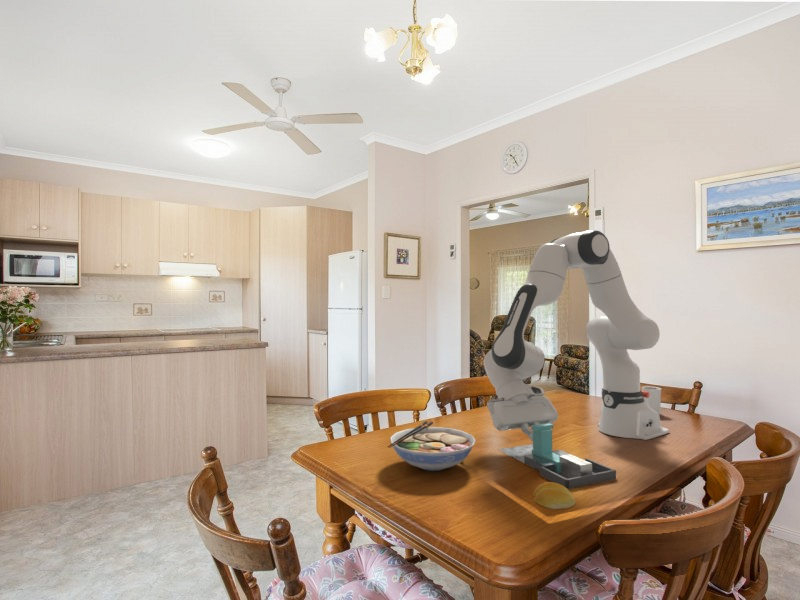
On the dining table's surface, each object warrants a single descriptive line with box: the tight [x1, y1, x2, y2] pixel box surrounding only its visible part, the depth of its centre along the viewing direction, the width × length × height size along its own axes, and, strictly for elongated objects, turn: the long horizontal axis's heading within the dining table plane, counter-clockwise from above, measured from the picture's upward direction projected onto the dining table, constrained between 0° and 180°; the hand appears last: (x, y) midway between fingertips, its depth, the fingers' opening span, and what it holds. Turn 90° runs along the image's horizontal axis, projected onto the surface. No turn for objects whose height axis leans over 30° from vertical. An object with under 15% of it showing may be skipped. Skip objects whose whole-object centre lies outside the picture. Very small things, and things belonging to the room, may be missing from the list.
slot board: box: [497, 443, 582, 472], centre depth 118 cm, size 12×20×3 cm, turn 22°
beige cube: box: [559, 453, 581, 477], centre depth 106 cm, size 4×4×4 cm
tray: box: [539, 458, 617, 490], centre depth 104 cm, size 15×9×3 cm, turn 112°
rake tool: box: [530, 423, 560, 472], centre depth 113 cm, size 6×10×10 cm, turn 21°
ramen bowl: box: [387, 420, 476, 472], centre depth 115 cm, size 25×23×8 cm
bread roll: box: [533, 481, 576, 510], centre depth 92 cm, size 8×9×4 cm
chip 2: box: [570, 458, 592, 478], centre depth 103 cm, size 4×4×4 cm
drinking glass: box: [641, 385, 662, 416], centre depth 169 cm, size 7×7×10 cm
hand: (537, 439), depth 118 cm, fingers closed
